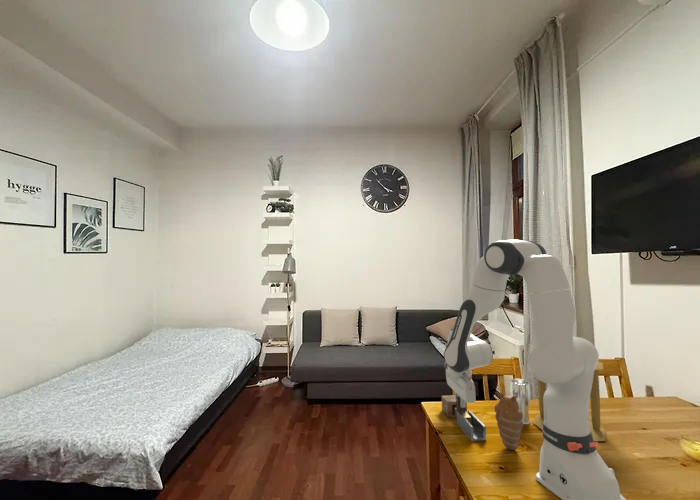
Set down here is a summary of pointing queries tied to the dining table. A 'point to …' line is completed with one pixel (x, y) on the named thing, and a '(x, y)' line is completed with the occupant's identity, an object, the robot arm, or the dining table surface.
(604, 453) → the dining table surface
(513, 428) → the cat ice cream
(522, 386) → the silver cup
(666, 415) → the dining table surface
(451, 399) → the socket
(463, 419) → the grey track with slider
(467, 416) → the tan grey t-shaped block
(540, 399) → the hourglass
